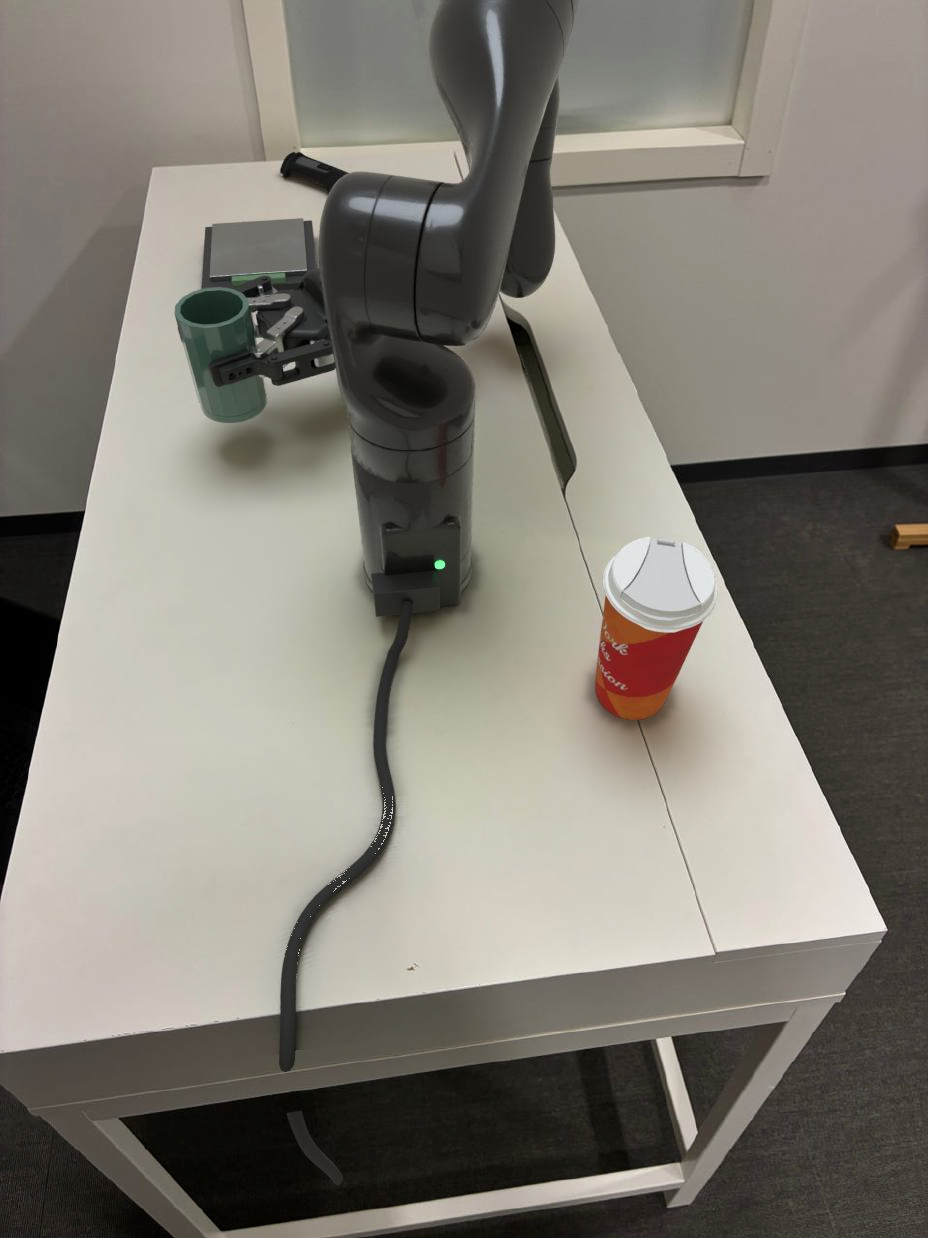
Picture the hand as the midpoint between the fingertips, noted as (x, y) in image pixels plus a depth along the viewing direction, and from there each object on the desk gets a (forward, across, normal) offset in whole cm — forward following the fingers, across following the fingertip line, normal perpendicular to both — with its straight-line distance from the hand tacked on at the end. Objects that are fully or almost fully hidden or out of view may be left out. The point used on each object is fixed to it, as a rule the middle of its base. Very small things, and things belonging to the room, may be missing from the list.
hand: (196, 355), depth 77 cm
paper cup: (-15, +43, +11) cm, 47 cm away
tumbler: (-2, 0, +6) cm, 6 cm away
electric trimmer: (-34, -42, +11) cm, 56 cm away
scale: (-17, -27, +11) cm, 34 cm away
